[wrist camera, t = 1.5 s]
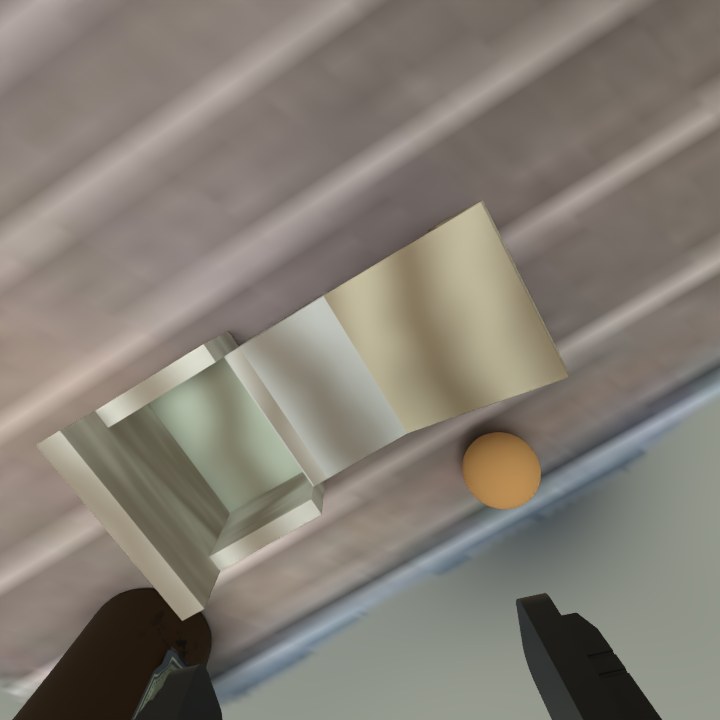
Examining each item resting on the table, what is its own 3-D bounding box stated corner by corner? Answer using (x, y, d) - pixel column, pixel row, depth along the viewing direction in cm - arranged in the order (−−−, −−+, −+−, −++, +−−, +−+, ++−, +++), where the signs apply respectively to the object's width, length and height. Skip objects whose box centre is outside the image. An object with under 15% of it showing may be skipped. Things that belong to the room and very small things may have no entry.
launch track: (442, 199, 27) (481, 170, 19) (526, 361, 29) (592, 394, 21) (119, 398, 29) (35, 445, 21) (223, 533, 31) (182, 620, 24)
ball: (503, 409, 30) (533, 436, 25) (533, 464, 31) (568, 500, 26) (442, 443, 30) (460, 476, 25) (473, 496, 31) (497, 538, 26)
